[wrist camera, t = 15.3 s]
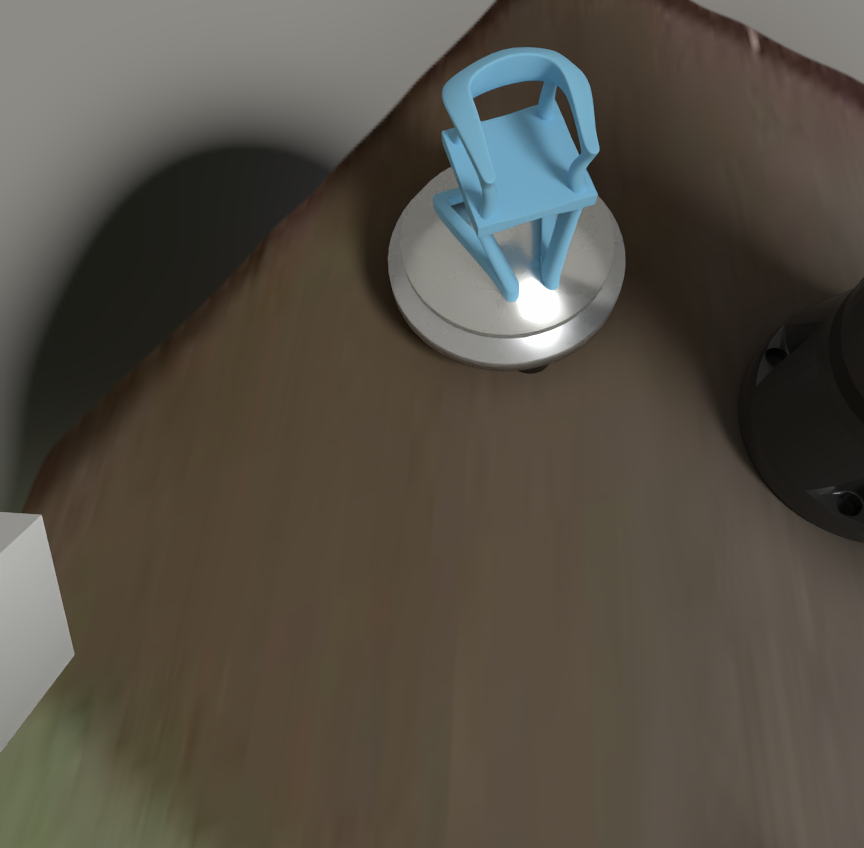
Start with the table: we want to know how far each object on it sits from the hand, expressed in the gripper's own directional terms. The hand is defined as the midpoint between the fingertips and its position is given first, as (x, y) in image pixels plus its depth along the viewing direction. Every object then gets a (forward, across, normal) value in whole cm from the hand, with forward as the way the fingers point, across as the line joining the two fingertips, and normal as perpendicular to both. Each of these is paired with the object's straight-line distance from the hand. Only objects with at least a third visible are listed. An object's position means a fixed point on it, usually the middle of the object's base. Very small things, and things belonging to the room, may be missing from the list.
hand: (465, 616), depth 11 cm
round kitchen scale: (+41, 0, -5) cm, 41 cm away
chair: (+38, +1, -2) cm, 38 cm away
